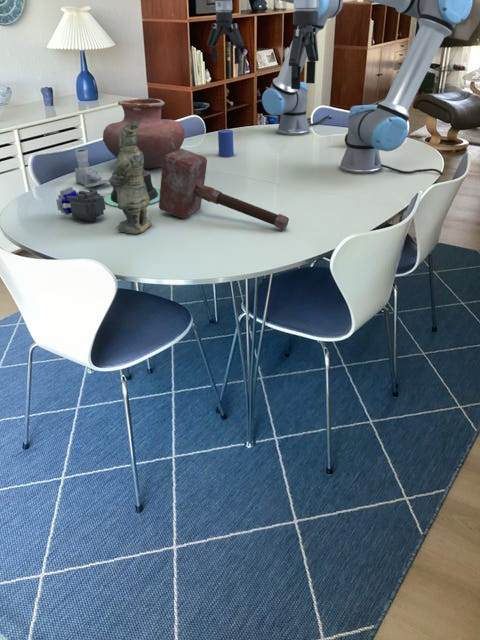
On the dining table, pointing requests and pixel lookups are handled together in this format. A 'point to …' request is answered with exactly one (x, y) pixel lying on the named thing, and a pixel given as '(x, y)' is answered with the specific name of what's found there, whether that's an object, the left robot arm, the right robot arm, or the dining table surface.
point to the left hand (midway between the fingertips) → (225, 63)
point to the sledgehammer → (200, 190)
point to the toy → (81, 204)
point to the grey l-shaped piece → (86, 170)
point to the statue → (131, 182)
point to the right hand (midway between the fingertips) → (303, 86)
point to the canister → (225, 143)
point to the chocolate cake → (152, 192)
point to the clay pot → (146, 131)
